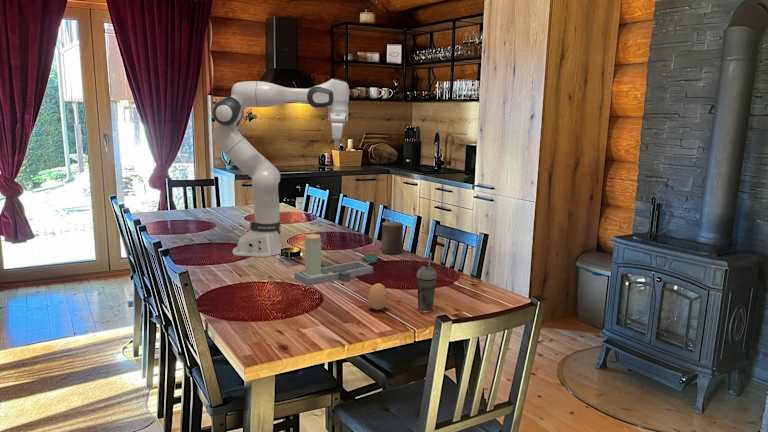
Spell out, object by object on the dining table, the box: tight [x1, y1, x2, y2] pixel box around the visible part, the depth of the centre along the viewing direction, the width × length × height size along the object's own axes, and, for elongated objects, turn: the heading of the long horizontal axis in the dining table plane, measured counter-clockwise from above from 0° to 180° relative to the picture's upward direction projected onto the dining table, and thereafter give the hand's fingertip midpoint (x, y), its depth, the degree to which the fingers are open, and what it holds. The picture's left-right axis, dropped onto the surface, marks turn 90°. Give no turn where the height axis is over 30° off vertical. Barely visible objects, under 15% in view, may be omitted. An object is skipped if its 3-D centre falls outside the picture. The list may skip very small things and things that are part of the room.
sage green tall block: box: [302, 233, 325, 278], centre depth 220 cm, size 6×7×17 cm
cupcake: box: [360, 234, 382, 263], centre depth 250 cm, size 9×8×12 cm
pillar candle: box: [381, 221, 404, 256], centre depth 264 cm, size 10×10×15 cm
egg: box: [367, 282, 389, 311], centre depth 191 cm, size 7×7×9 cm
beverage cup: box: [415, 252, 438, 312], centre depth 191 cm, size 7×7×20 cm
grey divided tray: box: [293, 260, 374, 286], centre depth 228 cm, size 30×18×3 cm, turn 128°
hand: (336, 148), depth 253 cm, fingers open, 8 cm apart
